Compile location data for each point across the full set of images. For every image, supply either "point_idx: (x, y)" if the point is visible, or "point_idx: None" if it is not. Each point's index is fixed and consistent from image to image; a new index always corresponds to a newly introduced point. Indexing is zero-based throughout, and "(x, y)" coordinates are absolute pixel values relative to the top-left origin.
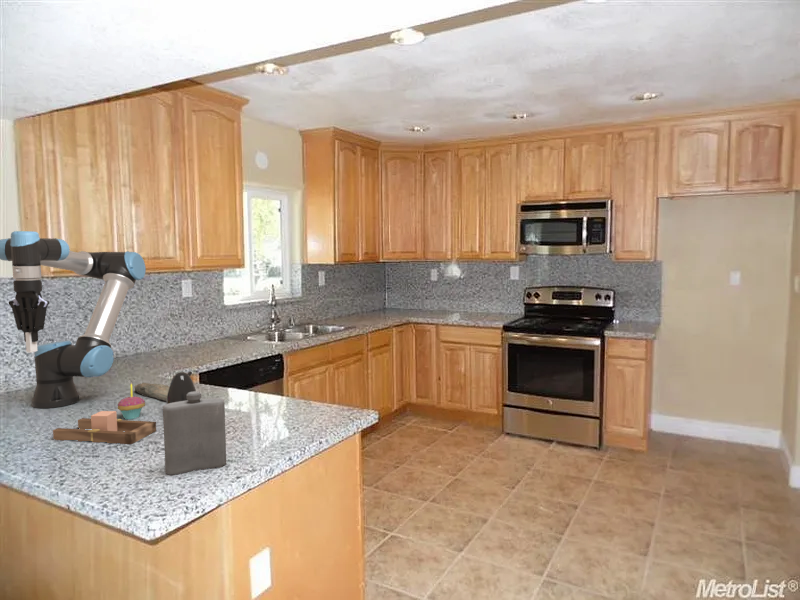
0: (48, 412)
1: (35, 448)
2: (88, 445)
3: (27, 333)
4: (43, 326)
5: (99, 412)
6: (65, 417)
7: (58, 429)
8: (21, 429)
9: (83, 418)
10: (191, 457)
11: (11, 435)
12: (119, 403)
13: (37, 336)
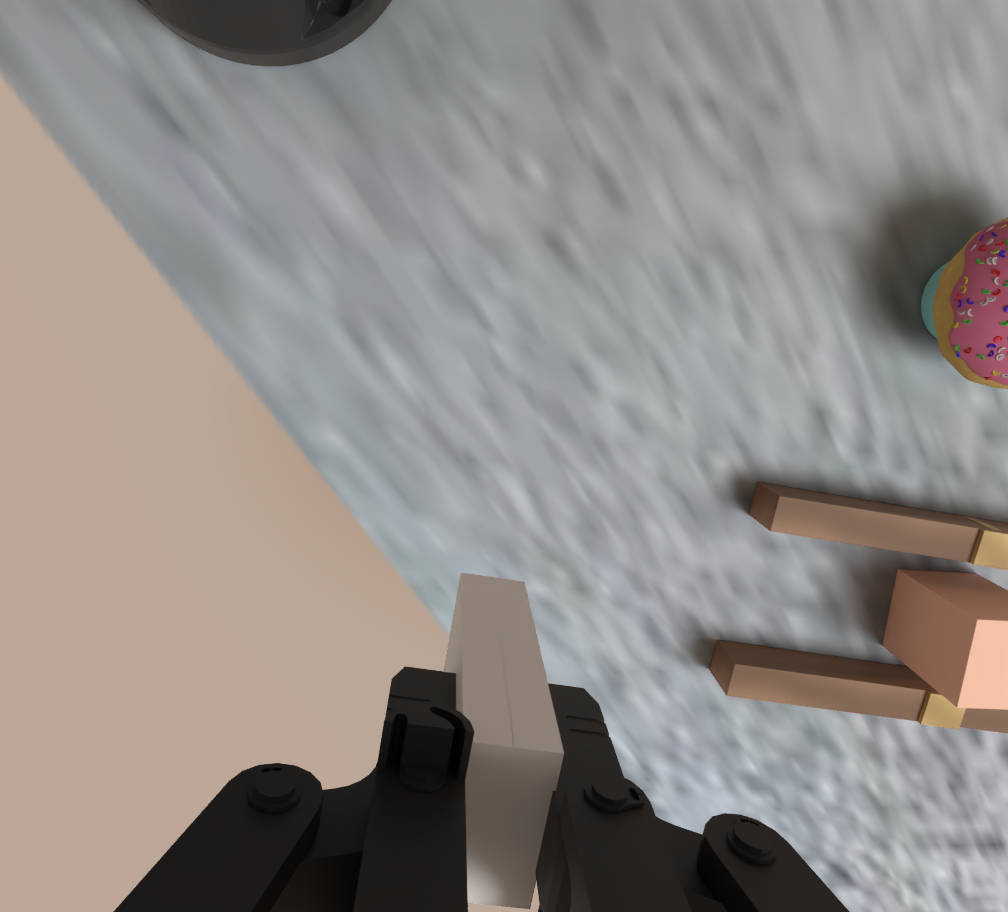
0: (369, 168)
1: (689, 770)
2: (907, 734)
3: (482, 888)
4: (812, 885)
5: (980, 646)
6: (554, 291)
7: (749, 685)
8: (436, 513)
9: (789, 503)
10: None
11: (451, 606)
12: (978, 356)
13: (607, 752)
